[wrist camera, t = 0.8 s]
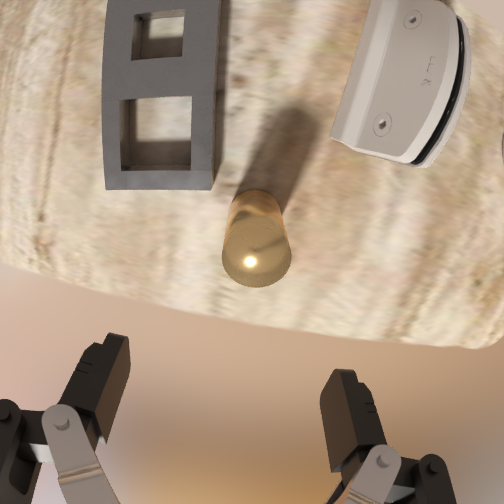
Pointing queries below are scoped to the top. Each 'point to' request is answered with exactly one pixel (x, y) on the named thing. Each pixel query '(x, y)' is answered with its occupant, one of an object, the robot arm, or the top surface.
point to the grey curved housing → (405, 82)
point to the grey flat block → (159, 90)
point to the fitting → (255, 240)
